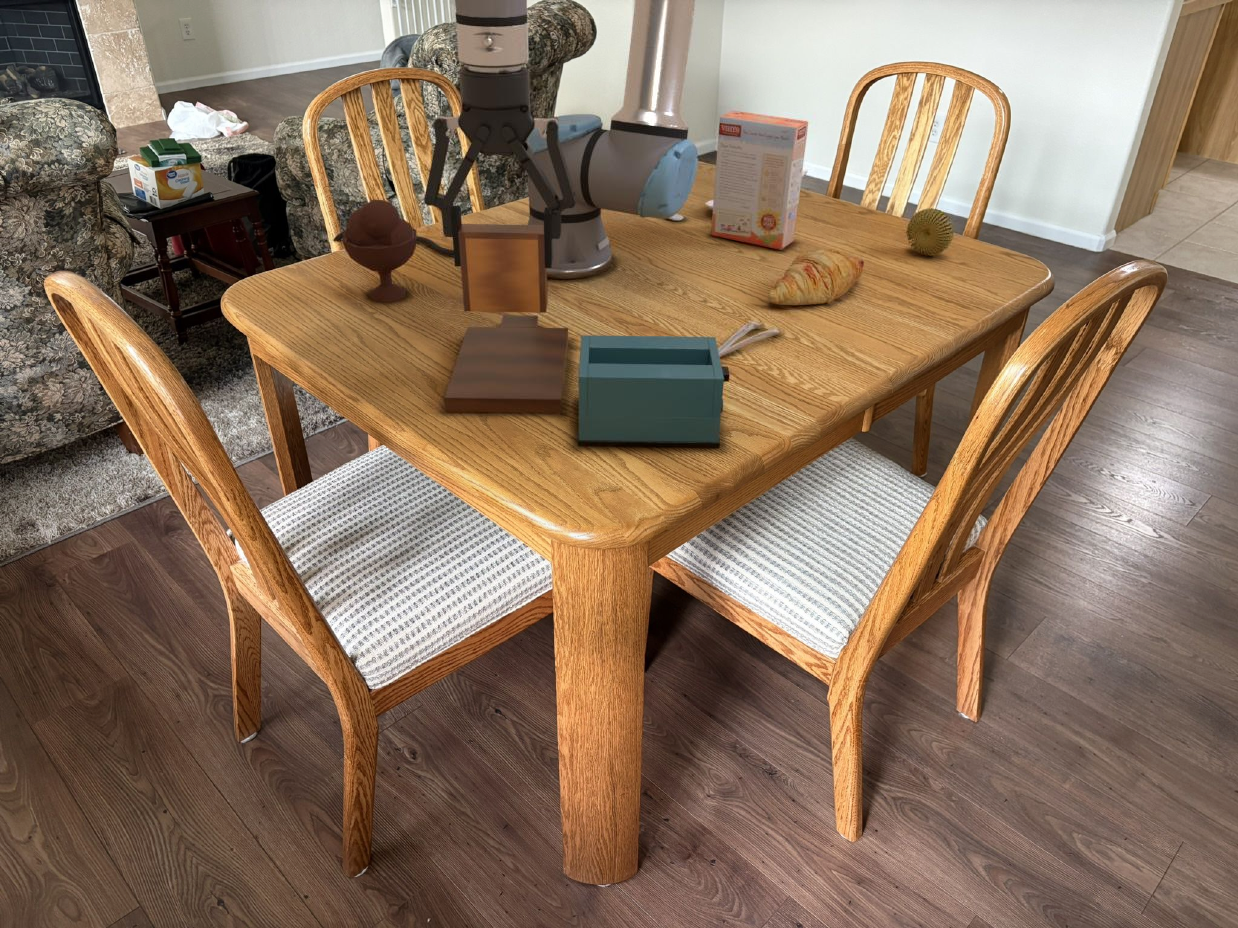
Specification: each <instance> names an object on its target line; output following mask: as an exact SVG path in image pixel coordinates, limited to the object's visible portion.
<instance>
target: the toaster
mask: <svg viewBox="0 0 1238 928" xmlns="http://www.w3.org/2000/svg"><path fill="white" fill-rule="evenodd" d="M718 348H719V346H718V343H717V338H716V337H715V336H672V335H671V336H667V335H666V336H665V335H662V336H660V335H658V336H657V335H600V334H599V335H598V334H597V335H596V334H595V335H594V334H593V335H592V334H591V335H590V334H582V335H581V339H580V349H579V365H578V378H577V379H578V380H577V381H578V384H577V385H578V386H577V387H578V424H577V425H578V426H577V437H576V438H577V440H576V447H598V448H599V447H600V448H607V447H608V448H672V449H673V448H677V449H678V448H679V449H680V448H681V449H720V447H721V439H720V428H721V416H722V413H723V410H724V399H723V394H724V384H725V382H726V383H729V382H730V377H731V376H730V375H731V374H730V370H729V367H728V366H722V363H721V357H719V352H718Z"/></svg>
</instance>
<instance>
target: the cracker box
mask: <svg viewBox="0 0 1238 928" xmlns="http://www.w3.org/2000/svg"><path fill="white" fill-rule="evenodd" d="M718 123H719V125H718V136H717V146H716V148H717V150H716V159H715V160H716V161H715V162H716V164H715V175H714V188H713V199H714V201H713V210H712V218H711V230H710V231H711V232H710V235H711V236H713V237H718V238H721V239H722V238H723V239H726V240H727V239H728V240H732V241H737V242H742V243H746V244H750V245H756V246H760V247H765V248H769V249H770V248H771V249H775V250H778V251H779V250H780V251H781V250H783V249H785V248H786V247H788V246H789V245H790V244H792V243H794V242H795V234H796V227H797V226H796V225H797V221H798V220H797V218H798V211H799V210H798V209H799V204H800V202H799V201H800V195H801V194H800V193H801V185H802V179H803V177H802V172H803V171H804V170H803V169H804V163H805V153H806V144H807V138H808V127H809V121H808V120H803V119H802V120H801V119H795V118H787V117H780V116H774V115H767V114H759V113H752V112H747V111H739V110H732V111H730V112H728V113H726V114H722V115H721V116H719V122H718Z"/></svg>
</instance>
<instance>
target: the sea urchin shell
mask: <svg viewBox="0 0 1238 928" xmlns="http://www.w3.org/2000/svg"><path fill="white" fill-rule="evenodd" d="M952 222H953V221H952V220H951V218H950V216H948V214H947V213H945V211H942V210H941V209H938V208H934V207H933V208H931V207H930V208H924V209H921V210H919V211H918V212H916V213H915V214H914V215H913V216H911V218H910V220H909V222H908V224H907V226H906V238H907V241H908V244H909V245H910V248H912V249H913V250H914V251H915V252H916V253H918V254H920V255H922V256H926V257H927V256H928V257H929V256H930V257H932V256H936V255H939V254H941V253H943V252H944V251H946V250H947V249H948V247H950V245H951V243H952V242H953V238H954V229H955V228H954V224H953V223H952Z"/></svg>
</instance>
